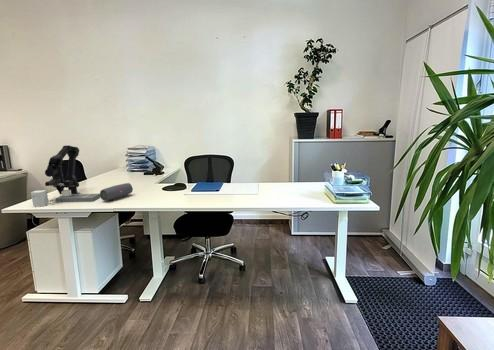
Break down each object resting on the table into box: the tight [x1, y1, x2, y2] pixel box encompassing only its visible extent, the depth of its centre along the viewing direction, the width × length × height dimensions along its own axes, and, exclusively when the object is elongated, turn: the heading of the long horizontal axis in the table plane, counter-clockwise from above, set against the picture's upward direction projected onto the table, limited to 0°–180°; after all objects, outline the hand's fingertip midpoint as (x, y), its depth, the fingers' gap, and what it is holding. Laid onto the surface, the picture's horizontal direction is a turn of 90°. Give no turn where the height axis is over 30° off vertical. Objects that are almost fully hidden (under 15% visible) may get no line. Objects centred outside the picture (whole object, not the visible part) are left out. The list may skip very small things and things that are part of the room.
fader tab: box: [61, 189, 72, 197], centre depth 232 cm, size 4×5×4 cm
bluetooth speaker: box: [99, 182, 134, 202], centre depth 232 cm, size 23×9×10 cm, turn 151°
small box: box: [30, 189, 50, 207], centre depth 220 cm, size 8×6×10 cm
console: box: [54, 192, 101, 203], centre depth 232 cm, size 12×28×3 cm, turn 87°
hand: (61, 194), depth 232 cm, fingers closed
